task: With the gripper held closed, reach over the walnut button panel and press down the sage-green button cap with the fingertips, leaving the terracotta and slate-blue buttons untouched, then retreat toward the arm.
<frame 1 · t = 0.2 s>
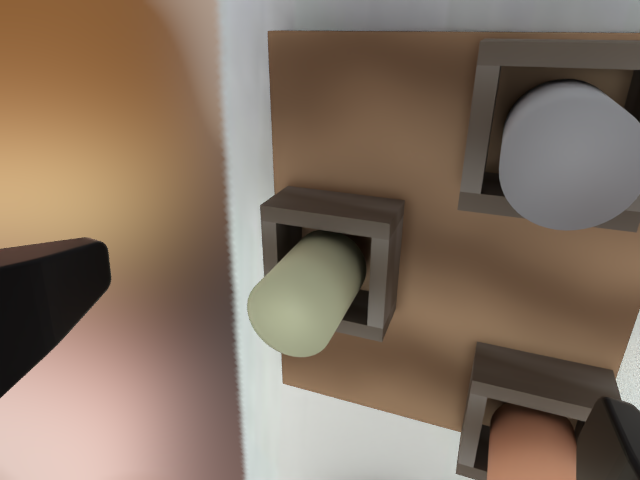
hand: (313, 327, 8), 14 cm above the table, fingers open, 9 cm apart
button panel: (441, 252, 22), on the table
sage button: (311, 288, 19), point 5 cm above the table, slide at 0.0 cm
slate button: (563, 147, 14), point 5 cm above the table, slide at 0.0 cm
terracotta button: (532, 472, 19), point 5 cm above the table, slide at 0.0 cm
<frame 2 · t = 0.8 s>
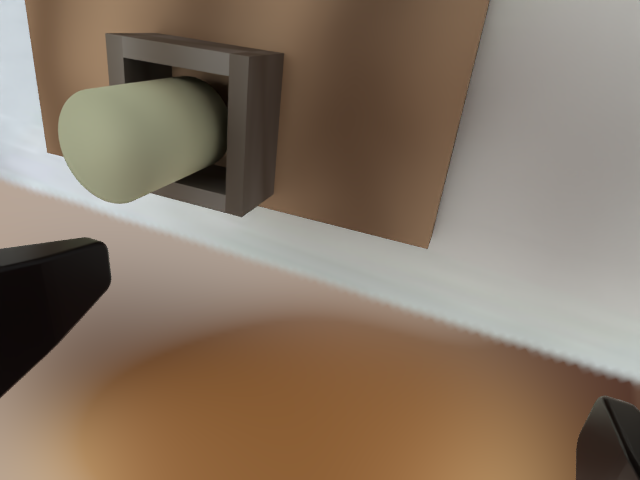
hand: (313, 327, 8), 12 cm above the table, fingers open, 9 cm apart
sage button: (153, 134, 16), point 5 cm above the table, slide at 0.0 cm
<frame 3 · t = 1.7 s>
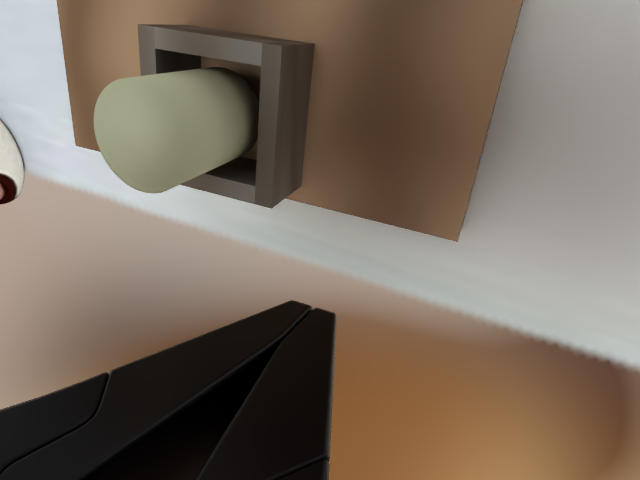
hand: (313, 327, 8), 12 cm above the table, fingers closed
sage button: (185, 124, 16), point 5 cm above the table, slide at 0.0 cm
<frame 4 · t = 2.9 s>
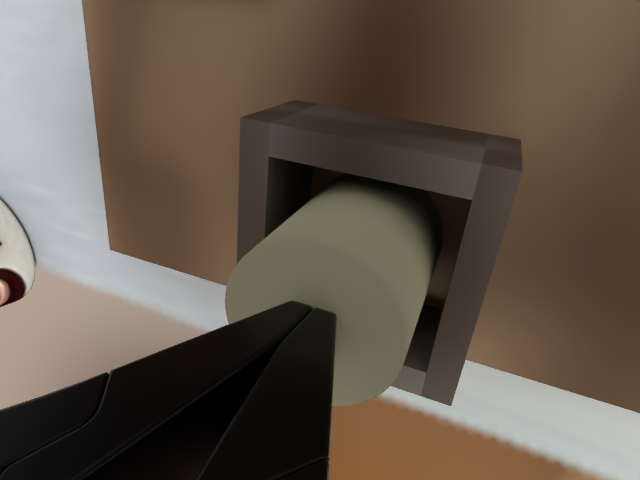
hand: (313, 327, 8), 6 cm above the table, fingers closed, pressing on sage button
button panel: (421, 41, 12), on the table
sage button: (348, 270, 10), point 4 cm above the table, slide at 1.1 cm, touching gripper
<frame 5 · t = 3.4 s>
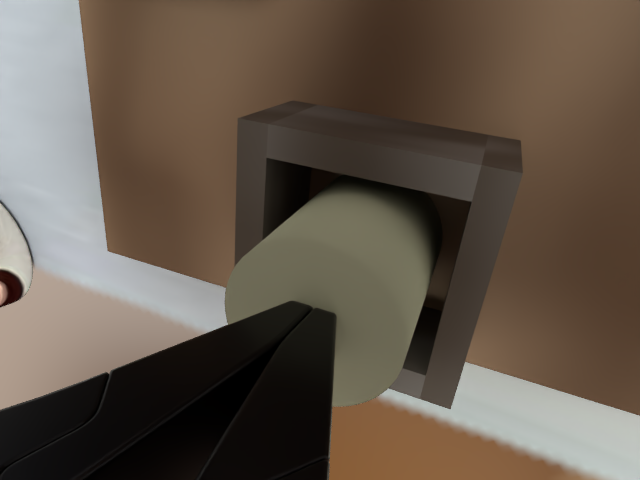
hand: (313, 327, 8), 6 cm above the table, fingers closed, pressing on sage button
button panel: (420, 41, 11), on the table
sage button: (348, 271, 10), point 4 cm above the table, slide at 1.2 cm, touching gripper
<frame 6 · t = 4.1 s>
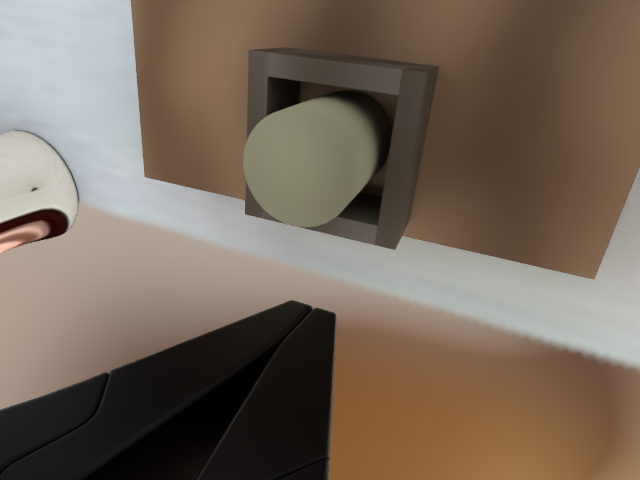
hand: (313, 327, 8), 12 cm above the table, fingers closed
button panel: (373, 3, 17), on the table
sage button: (323, 153, 15), point 4 cm above the table, slide at 1.2 cm
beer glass: (38, 184, 26), on the table
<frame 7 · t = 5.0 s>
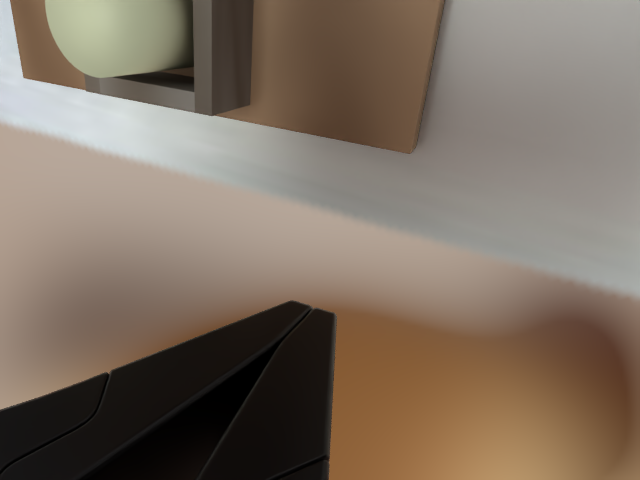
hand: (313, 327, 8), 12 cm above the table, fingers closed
sage button: (140, 19, 16), point 4 cm above the table, slide at 1.2 cm
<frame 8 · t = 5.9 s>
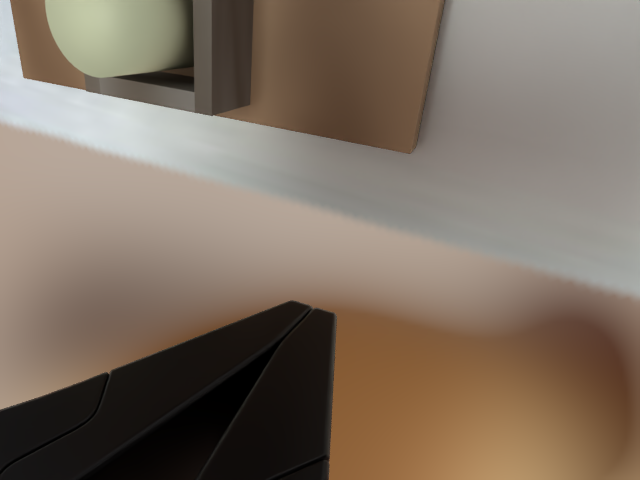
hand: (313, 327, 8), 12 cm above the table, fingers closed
sage button: (140, 19, 16), point 4 cm above the table, slide at 1.2 cm
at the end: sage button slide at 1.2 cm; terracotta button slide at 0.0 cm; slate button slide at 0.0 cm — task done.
